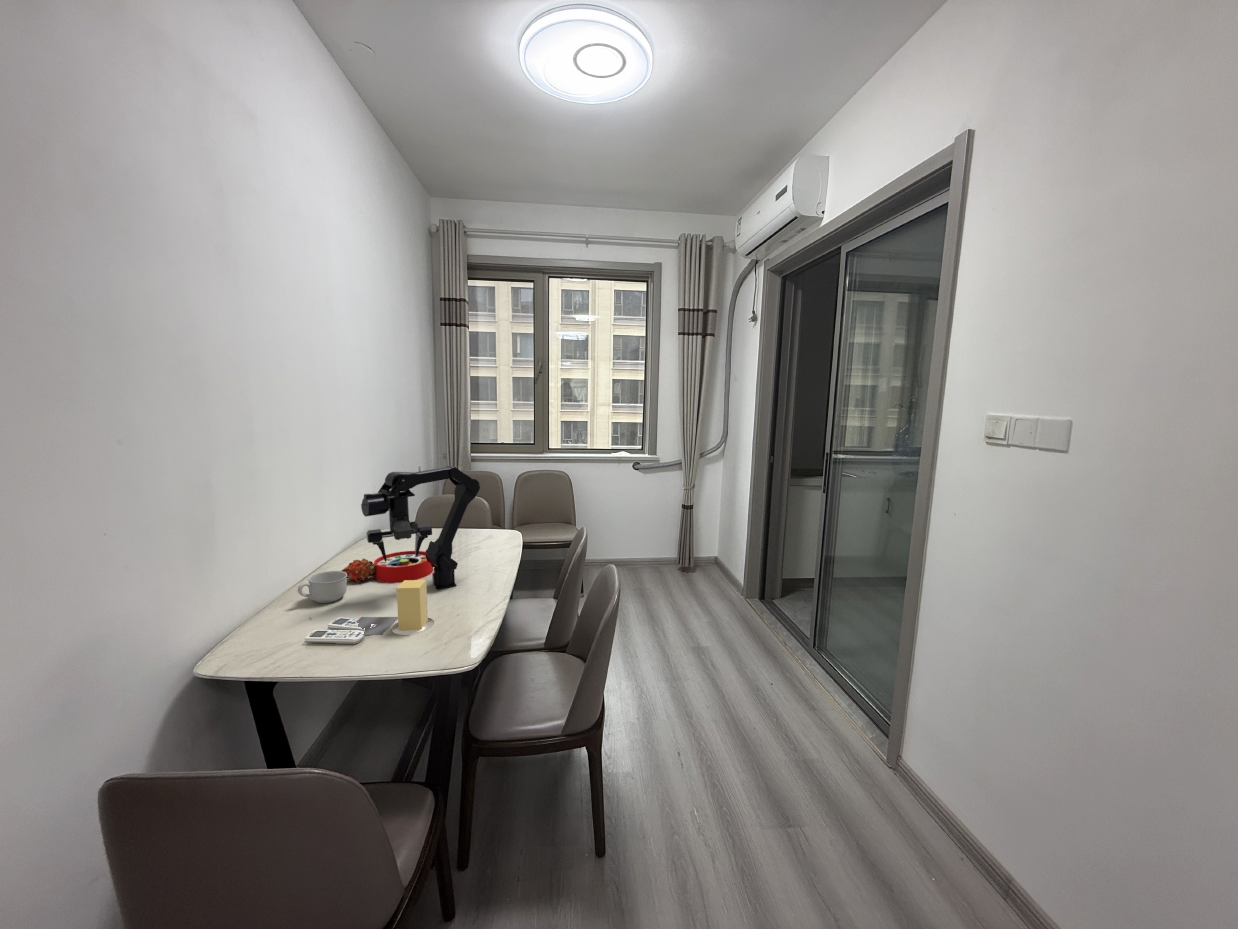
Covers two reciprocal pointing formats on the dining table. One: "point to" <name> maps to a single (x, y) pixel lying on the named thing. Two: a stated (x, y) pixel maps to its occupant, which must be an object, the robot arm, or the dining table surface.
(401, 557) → the toy clock
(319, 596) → the teacup
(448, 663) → the dining table surface
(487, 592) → the dining table surface
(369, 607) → the dining table surface
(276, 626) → the dining table surface
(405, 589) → the tan wooden brick
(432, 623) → the silver metal disc
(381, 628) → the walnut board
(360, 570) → the dragon fruit
